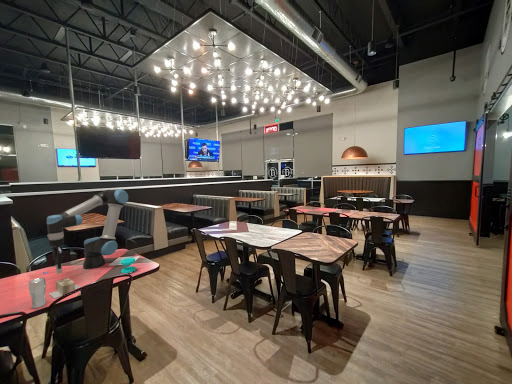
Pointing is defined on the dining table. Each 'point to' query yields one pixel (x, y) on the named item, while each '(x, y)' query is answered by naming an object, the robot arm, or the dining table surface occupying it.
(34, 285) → the beer glass
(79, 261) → the dining table surface
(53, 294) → the grey mat
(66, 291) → the maple block
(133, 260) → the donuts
